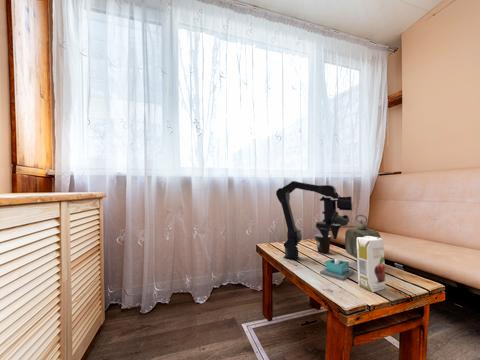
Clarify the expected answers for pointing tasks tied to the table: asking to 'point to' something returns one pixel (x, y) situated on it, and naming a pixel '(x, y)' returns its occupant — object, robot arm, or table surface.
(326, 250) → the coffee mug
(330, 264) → the teal square ring
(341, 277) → the station
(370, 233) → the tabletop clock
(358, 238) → the juice carton
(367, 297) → the table surface
